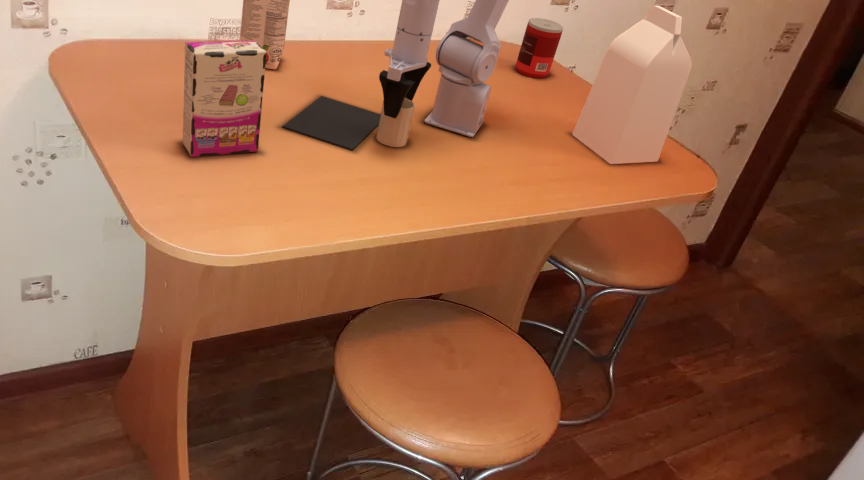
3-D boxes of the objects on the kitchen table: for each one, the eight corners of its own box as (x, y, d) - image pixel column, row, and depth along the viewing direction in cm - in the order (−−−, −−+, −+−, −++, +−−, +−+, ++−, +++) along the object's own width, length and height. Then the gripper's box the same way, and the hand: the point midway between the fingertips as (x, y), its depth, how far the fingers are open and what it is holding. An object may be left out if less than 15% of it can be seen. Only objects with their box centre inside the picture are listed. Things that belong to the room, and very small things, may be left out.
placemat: (385, 117, 145) (386, 116, 145) (352, 150, 131) (352, 149, 131) (321, 97, 148) (321, 95, 147) (282, 127, 134) (282, 126, 134)
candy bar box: (247, 138, 129) (256, 39, 119) (258, 152, 125) (269, 51, 116) (179, 143, 124) (184, 39, 114) (189, 158, 120) (195, 53, 111)
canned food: (553, 73, 181) (568, 25, 175) (540, 81, 175) (556, 32, 169) (522, 62, 184) (536, 15, 177) (509, 70, 178) (523, 21, 171)
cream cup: (410, 139, 139) (418, 102, 135) (400, 150, 135) (409, 111, 131) (382, 130, 140) (389, 93, 136) (372, 140, 136) (379, 102, 132)
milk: (571, 134, 153) (619, -2, 138) (617, 133, 158) (669, 1, 143) (610, 164, 144) (665, 22, 130) (657, 161, 149) (716, 24, 134)
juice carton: (280, 72, 154) (291, -29, 143) (236, 65, 154) (244, -37, 143) (283, 59, 160) (295, -39, 149) (241, 51, 160) (249, -47, 149)
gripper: (405, 13, 133) (389, 89, 141) (376, 33, 121) (360, 115, 129) (444, 24, 131) (426, 101, 139) (419, 46, 120) (401, 128, 128)
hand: (397, 109), depth 134 cm, fingers open, 7 cm apart
